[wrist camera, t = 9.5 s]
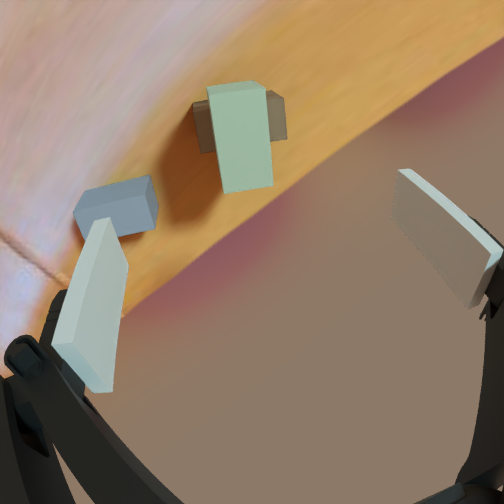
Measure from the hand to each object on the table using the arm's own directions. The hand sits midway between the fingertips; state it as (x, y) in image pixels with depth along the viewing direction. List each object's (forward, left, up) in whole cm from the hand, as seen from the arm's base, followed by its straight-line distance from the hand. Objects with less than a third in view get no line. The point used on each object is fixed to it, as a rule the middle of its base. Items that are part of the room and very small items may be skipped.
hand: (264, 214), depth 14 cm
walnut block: (+1, 0, -21) cm, 21 cm away
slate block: (-13, -7, -21) cm, 26 cm away
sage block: (+1, 0, -16) cm, 16 cm away
